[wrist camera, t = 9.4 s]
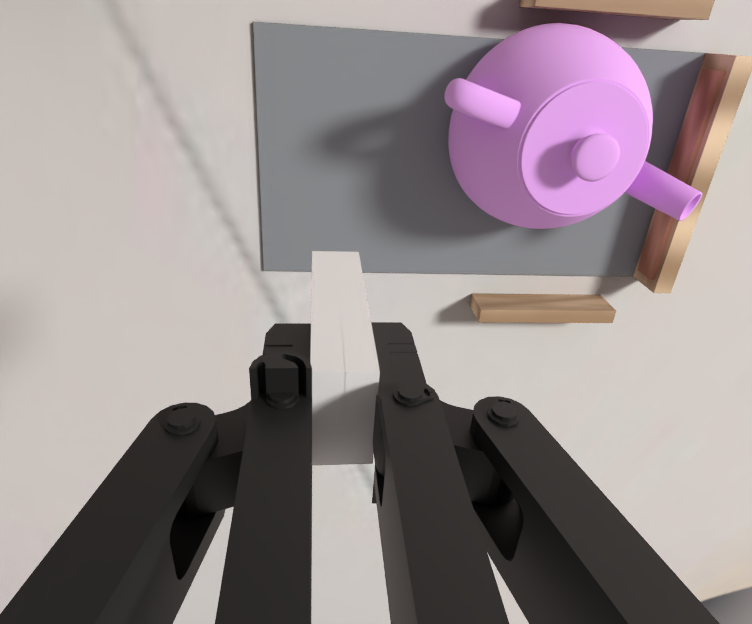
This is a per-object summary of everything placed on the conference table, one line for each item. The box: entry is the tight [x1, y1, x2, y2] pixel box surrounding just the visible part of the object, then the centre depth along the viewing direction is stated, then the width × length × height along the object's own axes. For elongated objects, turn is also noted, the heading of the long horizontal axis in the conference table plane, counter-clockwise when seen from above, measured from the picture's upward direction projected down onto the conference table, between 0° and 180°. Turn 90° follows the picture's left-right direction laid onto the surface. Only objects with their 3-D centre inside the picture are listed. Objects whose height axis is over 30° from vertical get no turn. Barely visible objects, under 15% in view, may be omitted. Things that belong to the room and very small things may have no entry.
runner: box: [253, 22, 705, 276], centre depth 41 cm, size 18×34×1 cm, turn 87°
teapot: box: [444, 23, 702, 229], centre depth 36 cm, size 14×20×11 cm
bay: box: [470, 0, 752, 323], centre depth 41 cm, size 24×16×4 cm, turn 177°
